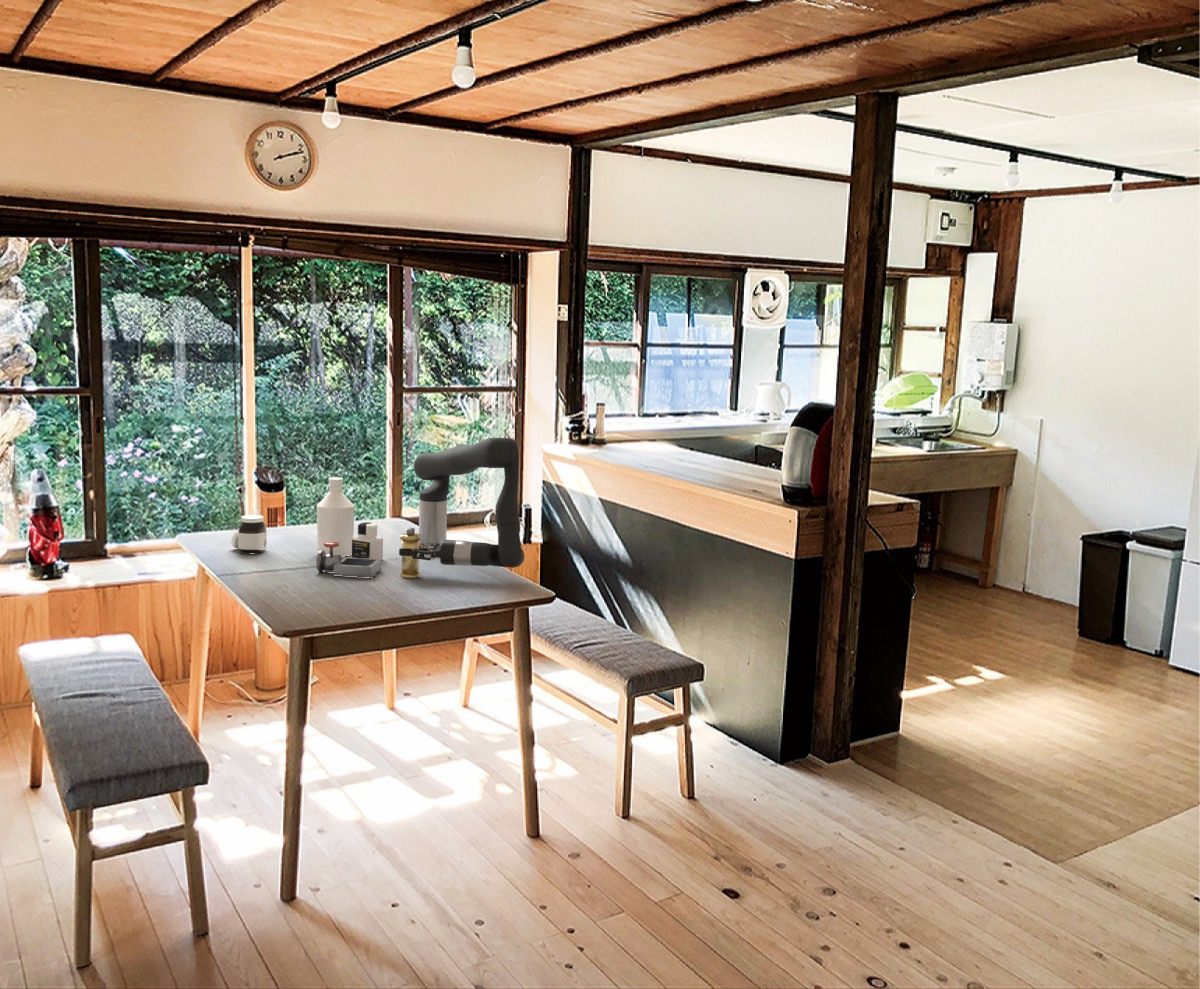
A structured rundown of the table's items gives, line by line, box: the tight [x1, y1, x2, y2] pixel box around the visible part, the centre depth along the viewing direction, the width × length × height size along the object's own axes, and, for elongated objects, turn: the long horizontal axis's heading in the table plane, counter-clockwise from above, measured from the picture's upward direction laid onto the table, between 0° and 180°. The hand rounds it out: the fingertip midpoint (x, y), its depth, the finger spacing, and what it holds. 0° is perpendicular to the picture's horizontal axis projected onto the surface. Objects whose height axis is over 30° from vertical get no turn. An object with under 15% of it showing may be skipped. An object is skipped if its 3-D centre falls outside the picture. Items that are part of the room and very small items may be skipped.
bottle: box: [316, 476, 355, 556], centre depth 345 cm, size 12×12×25 cm
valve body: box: [399, 527, 421, 579], centre depth 320 cm, size 6×6×15 cm
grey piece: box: [316, 542, 382, 578], centre depth 322 cm, size 11×17×9 cm, turn 87°
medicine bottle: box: [351, 521, 384, 560], centre depth 340 cm, size 7×7×12 cm
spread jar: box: [230, 514, 268, 554], centre depth 345 cm, size 12×11×12 cm
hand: (401, 549), depth 320 cm, fingers closed on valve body, 5 cm apart
